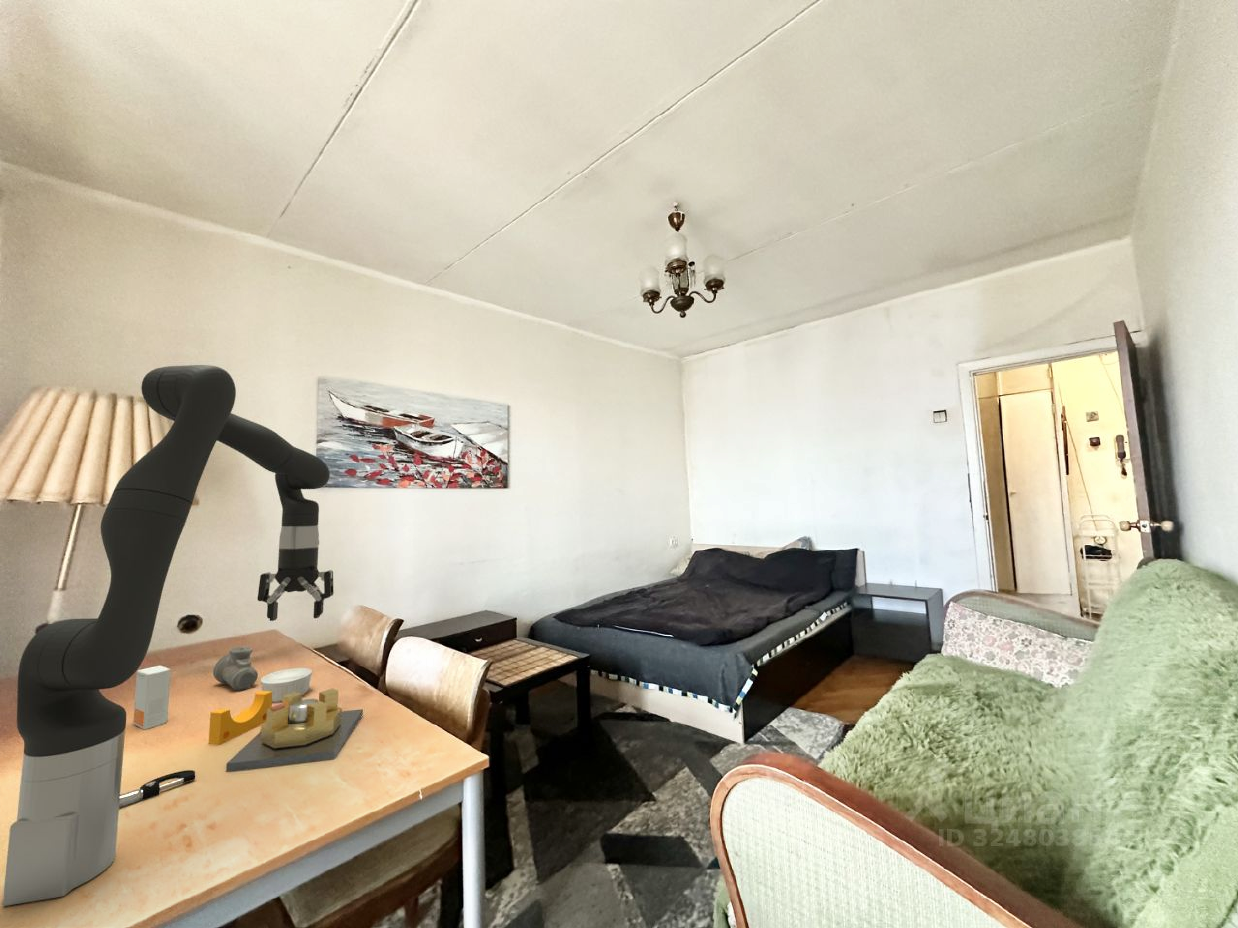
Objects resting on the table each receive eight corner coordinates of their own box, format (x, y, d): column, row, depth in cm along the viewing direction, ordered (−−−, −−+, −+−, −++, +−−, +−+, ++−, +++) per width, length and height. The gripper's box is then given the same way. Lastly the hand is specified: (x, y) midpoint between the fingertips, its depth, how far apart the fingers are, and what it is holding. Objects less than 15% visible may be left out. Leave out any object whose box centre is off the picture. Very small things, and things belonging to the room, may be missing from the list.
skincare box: (131, 724, 109) (136, 670, 110) (156, 717, 112) (160, 664, 113) (143, 730, 106) (147, 674, 107) (168, 722, 110) (172, 668, 111)
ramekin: (271, 707, 118) (272, 685, 118) (251, 698, 123) (252, 677, 124) (319, 692, 127) (320, 672, 128) (298, 684, 133) (299, 665, 133)
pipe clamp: (254, 718, 112) (256, 690, 112) (270, 720, 111) (272, 691, 111) (201, 744, 100) (203, 711, 100) (218, 745, 99) (220, 713, 100)
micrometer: (189, 770, 90) (190, 756, 90) (199, 783, 86) (200, 768, 86) (68, 810, 78) (69, 794, 79) (72, 827, 74) (74, 810, 74)
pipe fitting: (209, 684, 132) (217, 646, 133) (244, 678, 139) (252, 642, 140) (223, 699, 125) (231, 659, 126) (259, 692, 132) (267, 654, 133)
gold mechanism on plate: (334, 758, 93) (336, 718, 94) (224, 772, 89) (226, 729, 89) (362, 715, 112) (363, 682, 113) (273, 724, 108) (275, 690, 109)
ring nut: (326, 742, 96) (328, 706, 97) (251, 750, 93) (253, 714, 93) (346, 715, 109) (347, 683, 109) (281, 721, 105) (282, 689, 106)
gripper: (255, 548, 104) (250, 625, 102) (329, 546, 108) (325, 620, 106) (270, 545, 111) (265, 617, 110) (338, 544, 115) (335, 613, 113)
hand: (295, 618), depth 108 cm, fingers open, 8 cm apart
